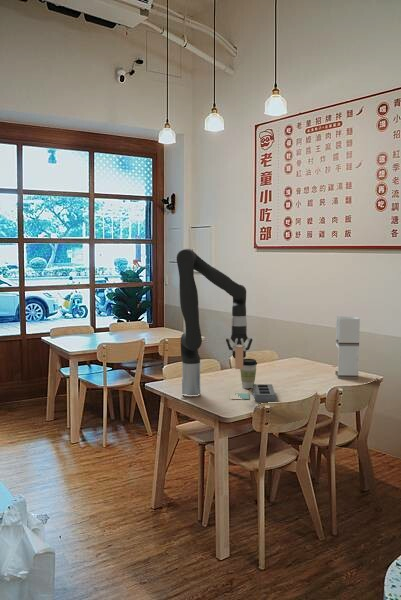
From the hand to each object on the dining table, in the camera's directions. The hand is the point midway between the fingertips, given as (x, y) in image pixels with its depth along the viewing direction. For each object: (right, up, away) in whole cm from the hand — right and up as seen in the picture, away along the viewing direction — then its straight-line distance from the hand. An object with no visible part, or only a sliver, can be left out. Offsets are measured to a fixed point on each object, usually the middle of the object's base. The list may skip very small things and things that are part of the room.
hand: (239, 358), depth 270 cm
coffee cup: (+6, -18, +21) cm, 28 cm away
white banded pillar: (+66, -16, +43) cm, 81 cm away
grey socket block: (+13, -20, +1) cm, 24 cm away
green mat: (0, -20, +2) cm, 20 cm away
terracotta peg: (0, -5, +1) cm, 5 cm away
